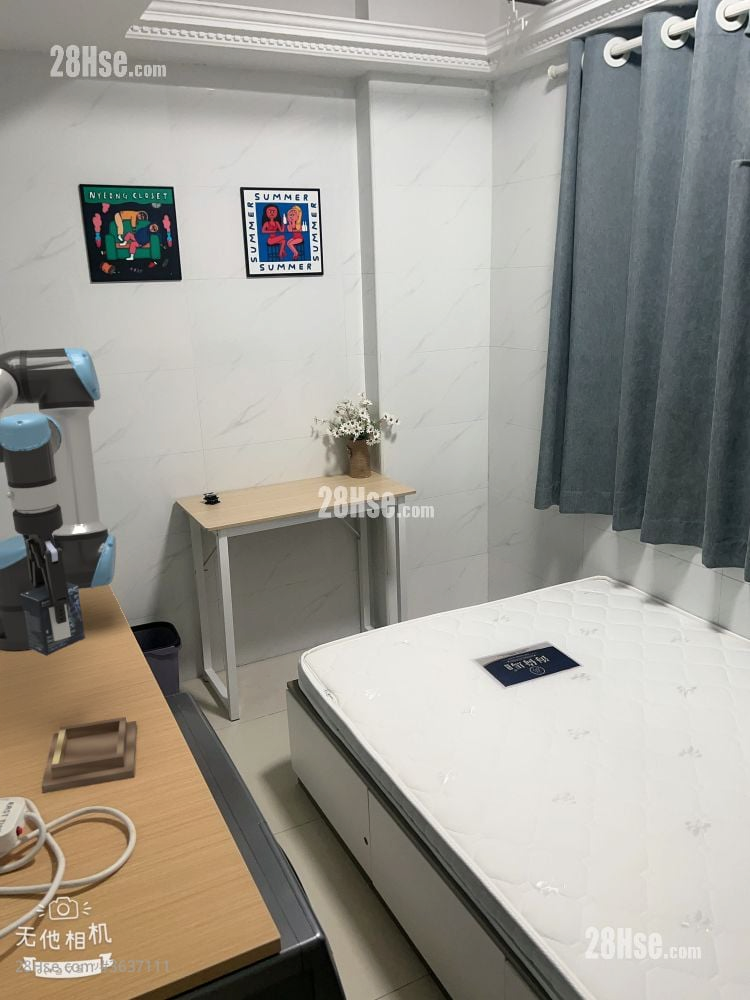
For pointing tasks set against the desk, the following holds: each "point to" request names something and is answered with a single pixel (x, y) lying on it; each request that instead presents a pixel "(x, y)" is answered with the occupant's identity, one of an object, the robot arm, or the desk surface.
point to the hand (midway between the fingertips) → (55, 630)
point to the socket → (91, 754)
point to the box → (41, 623)
